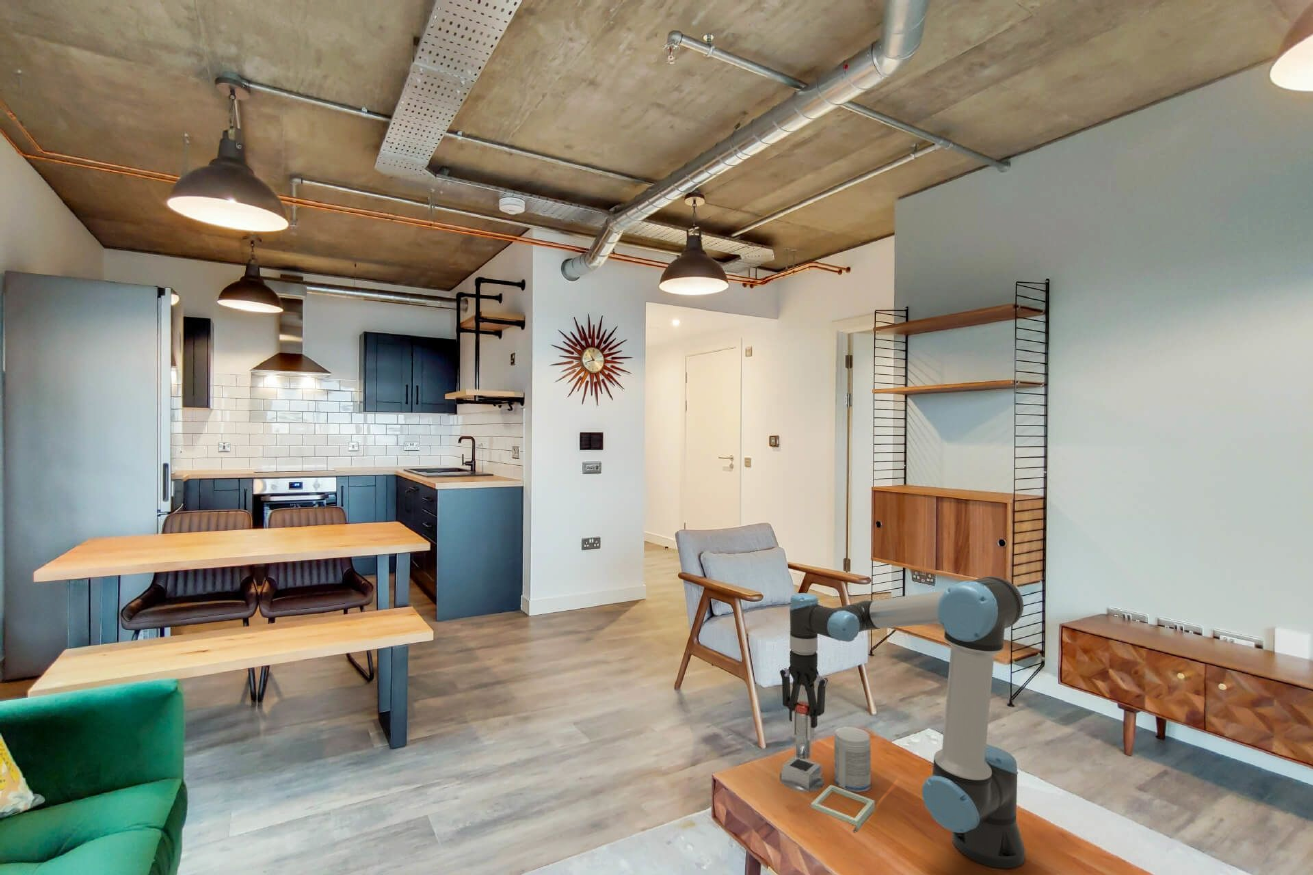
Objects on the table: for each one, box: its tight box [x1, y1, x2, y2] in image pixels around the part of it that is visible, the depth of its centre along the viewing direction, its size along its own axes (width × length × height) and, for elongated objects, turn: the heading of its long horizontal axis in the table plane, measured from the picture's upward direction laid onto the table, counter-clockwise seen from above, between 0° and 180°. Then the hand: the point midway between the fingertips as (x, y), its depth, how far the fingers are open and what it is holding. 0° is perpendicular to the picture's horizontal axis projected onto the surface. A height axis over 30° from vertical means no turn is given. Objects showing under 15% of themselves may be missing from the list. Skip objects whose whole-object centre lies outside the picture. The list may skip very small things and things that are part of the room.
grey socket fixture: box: [778, 754, 825, 793], centre depth 177 cm, size 12×12×6 cm
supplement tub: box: [833, 726, 872, 792], centre depth 177 cm, size 10×10×15 cm
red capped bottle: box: [795, 700, 811, 760], centre depth 177 cm, size 4×4×14 cm
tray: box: [810, 784, 876, 832], centre depth 165 cm, size 12×12×2 cm
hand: (803, 735), depth 177 cm, fingers closed on red capped bottle, 4 cm apart
